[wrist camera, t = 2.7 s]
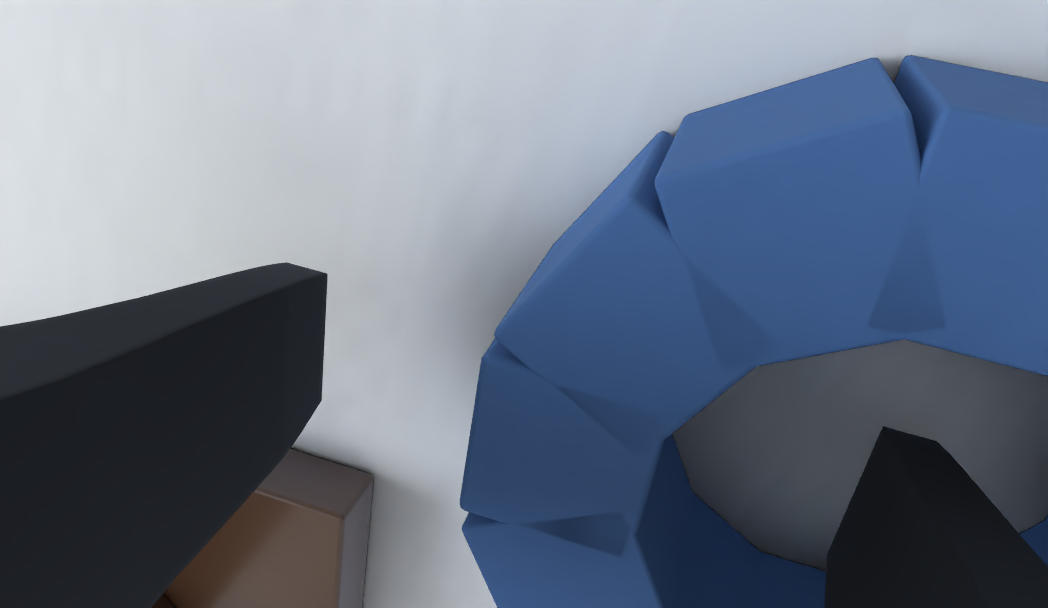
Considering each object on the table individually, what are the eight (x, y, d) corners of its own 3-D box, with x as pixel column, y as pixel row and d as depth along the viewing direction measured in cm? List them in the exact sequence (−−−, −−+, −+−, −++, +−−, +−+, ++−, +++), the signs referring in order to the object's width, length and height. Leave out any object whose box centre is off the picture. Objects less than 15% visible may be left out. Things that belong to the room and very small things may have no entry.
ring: (1511, 174, 8) (1807, 284, 6) (1076, 763, 13) (1143, 964, 10) (592, -10, 10) (530, 18, 8) (487, 568, 15) (427, 702, 12)
